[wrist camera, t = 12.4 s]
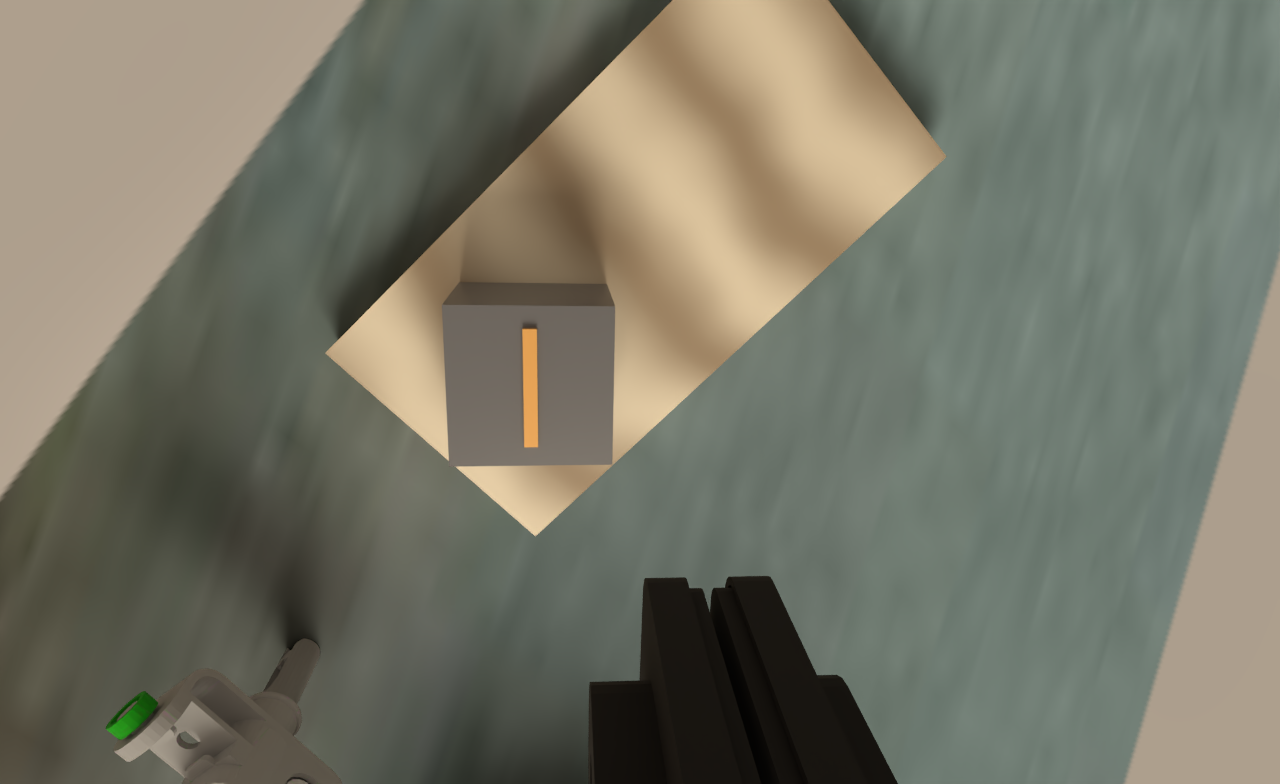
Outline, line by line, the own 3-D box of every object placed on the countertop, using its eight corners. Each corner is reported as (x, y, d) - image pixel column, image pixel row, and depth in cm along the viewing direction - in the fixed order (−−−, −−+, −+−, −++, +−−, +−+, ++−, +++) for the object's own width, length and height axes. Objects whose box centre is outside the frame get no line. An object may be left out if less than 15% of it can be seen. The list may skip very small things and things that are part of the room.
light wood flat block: (748, -75, 31) (786, -121, 26) (925, 156, 34) (990, 156, 29) (338, 342, 34) (298, 376, 29) (536, 516, 38) (533, 575, 32)
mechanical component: (249, 562, 37) (141, 705, 27) (398, 702, 40) (347, 876, 30) (202, 598, 37) (79, 752, 28) (353, 735, 40) (289, 916, 30)
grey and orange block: (459, 282, 32) (440, 305, 27) (607, 283, 32) (615, 307, 28) (464, 422, 34) (448, 468, 29) (604, 421, 34) (612, 466, 29)
